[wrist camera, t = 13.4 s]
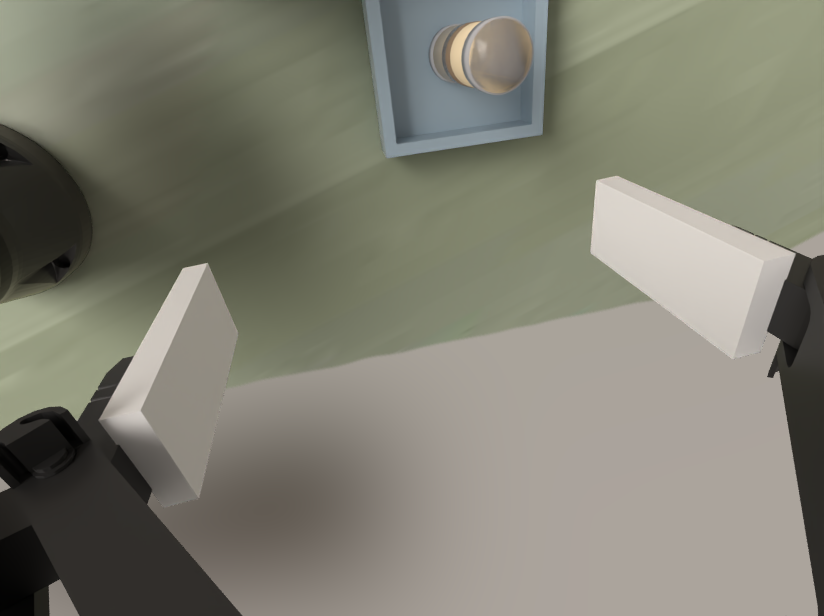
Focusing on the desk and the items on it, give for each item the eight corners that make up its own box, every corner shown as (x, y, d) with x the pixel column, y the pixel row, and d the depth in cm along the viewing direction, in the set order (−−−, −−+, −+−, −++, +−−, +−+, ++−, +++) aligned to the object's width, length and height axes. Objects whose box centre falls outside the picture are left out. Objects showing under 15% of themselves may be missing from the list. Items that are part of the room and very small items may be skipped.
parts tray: (382, 150, 41) (386, 158, 38) (355, -40, 34) (358, -49, 31) (527, 128, 42) (542, 134, 39) (532, -60, 35) (551, -70, 32)
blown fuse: (430, 85, 38) (468, 99, 28) (426, 27, 36) (465, 20, 26) (477, 78, 39) (532, 90, 28) (476, 21, 36) (534, 11, 26)
